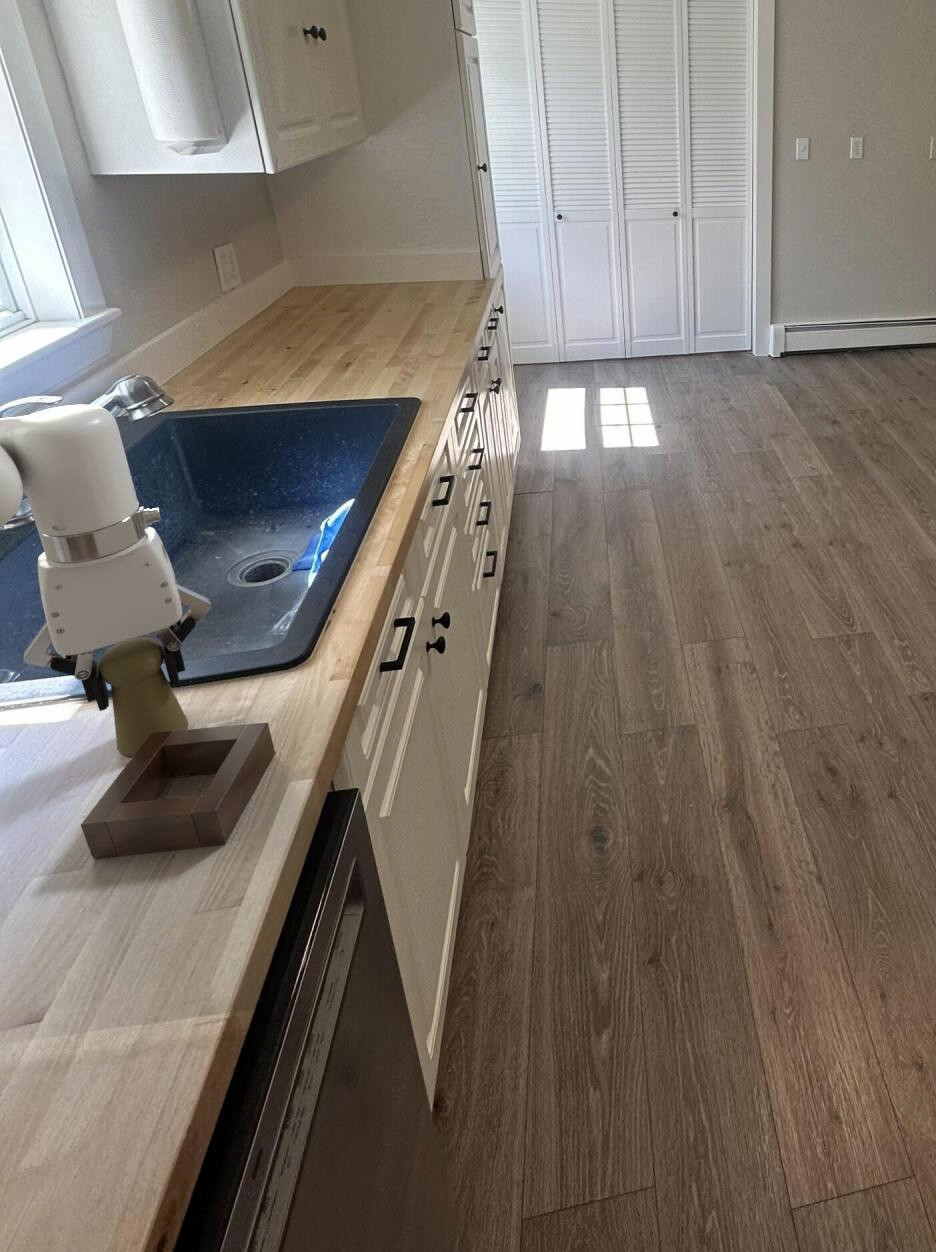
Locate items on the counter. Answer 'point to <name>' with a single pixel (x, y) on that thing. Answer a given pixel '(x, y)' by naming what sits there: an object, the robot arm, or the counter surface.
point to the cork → (140, 693)
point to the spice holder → (154, 825)
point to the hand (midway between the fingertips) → (139, 688)
